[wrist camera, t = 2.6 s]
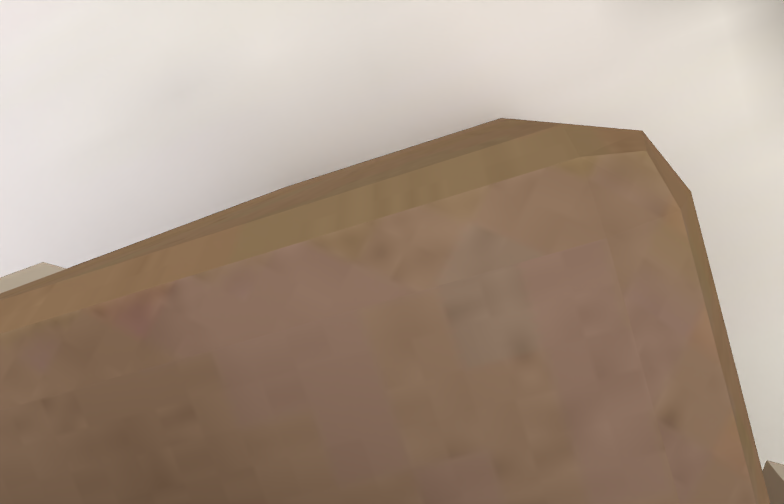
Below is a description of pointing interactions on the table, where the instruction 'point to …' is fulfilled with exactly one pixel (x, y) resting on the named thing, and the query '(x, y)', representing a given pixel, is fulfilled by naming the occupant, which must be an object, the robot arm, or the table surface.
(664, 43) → the table surface
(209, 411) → the block
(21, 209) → the table surface
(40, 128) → the table surface
